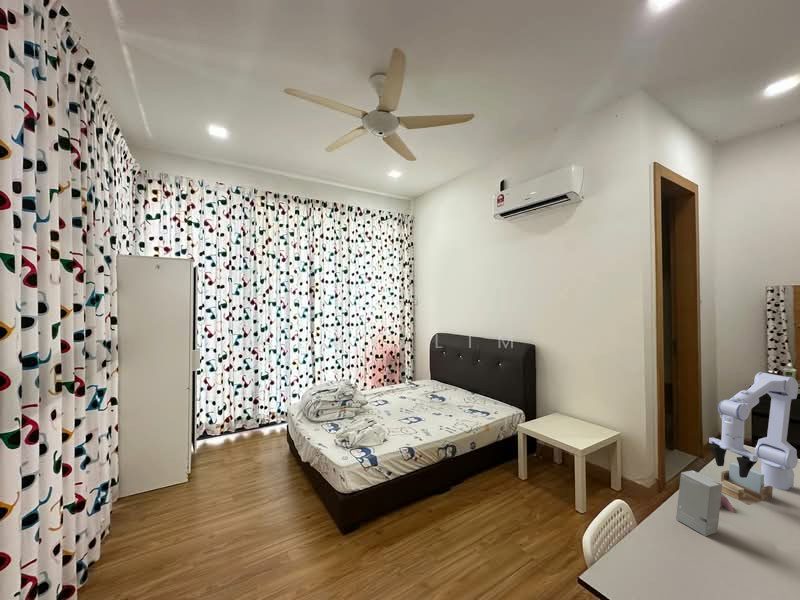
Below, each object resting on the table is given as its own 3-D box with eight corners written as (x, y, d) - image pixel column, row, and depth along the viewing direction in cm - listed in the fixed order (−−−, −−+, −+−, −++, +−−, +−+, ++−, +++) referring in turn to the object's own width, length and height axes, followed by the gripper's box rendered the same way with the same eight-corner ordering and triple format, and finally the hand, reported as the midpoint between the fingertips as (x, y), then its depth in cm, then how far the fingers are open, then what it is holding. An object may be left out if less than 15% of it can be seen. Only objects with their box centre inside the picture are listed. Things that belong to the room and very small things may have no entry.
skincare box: (675, 520, 108) (677, 472, 107) (689, 515, 110) (691, 468, 110) (707, 538, 100) (708, 486, 99) (721, 532, 102) (723, 482, 102)
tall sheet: (732, 482, 128) (732, 462, 128) (763, 496, 120) (764, 474, 120) (728, 483, 128) (729, 463, 128) (760, 497, 119) (760, 475, 119)
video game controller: (727, 514, 114) (719, 490, 117) (738, 516, 110) (730, 492, 113) (696, 511, 115) (689, 488, 118) (706, 513, 110) (699, 489, 114)
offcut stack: (724, 487, 125) (724, 480, 124) (745, 497, 119) (745, 489, 119) (717, 489, 123) (717, 481, 123) (738, 499, 118) (738, 491, 118)
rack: (730, 482, 130) (730, 469, 130) (772, 501, 119) (772, 486, 119) (707, 488, 126) (707, 475, 126) (748, 508, 115) (748, 493, 115)
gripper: (702, 426, 127) (701, 461, 127) (745, 443, 112) (744, 483, 113) (718, 426, 128) (717, 460, 128) (763, 442, 113) (762, 482, 113)
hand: (731, 471), depth 120 cm, fingers open, 7 cm apart
